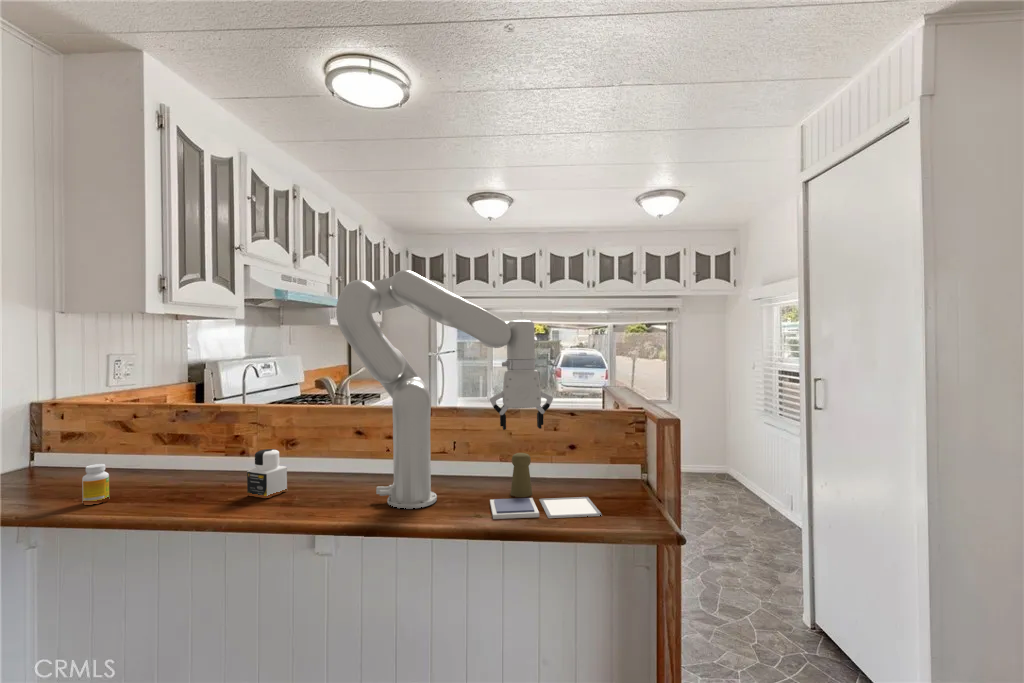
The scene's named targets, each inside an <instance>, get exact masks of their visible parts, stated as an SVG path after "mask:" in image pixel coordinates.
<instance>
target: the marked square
mask: <svg viewBox="0 0 1024 683" xmlns="http://www.w3.org/2000/svg"><path fill="white" fill-rule="evenodd" d="M538 500H539V502H540V504H541V506H542V508H543V510H544V512H545V514H546V517H547V519H555V518H556V519H559V518H560V519H563V518H564V519H565V518H581V517H582V518H584V517H586V518H587V516H588V517H602V516H603V514H602V512H601V511H600V510H599V509H598V508H597V506H596V505H595V503H593V501H592V500H591V499H590V498H589V496H581V497H580V496H578V497H577V496H576V497H573V496H572V497H555V498H554V497H552V498H539V499H538ZM600 515H601V516H600Z"/></svg>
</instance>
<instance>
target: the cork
mask: <svg viewBox="0 0 1024 683" xmlns="http://www.w3.org/2000/svg"><path fill="white" fill-rule="evenodd" d="M531 460H532V459H531V456H530V454H528V453H525V452H517V453H514V454H513V455H512V456H511V464H512V465H513V470H512V477H511V478H512V479H511V487H510V493H509V494H510V496H512V497H514V496H515V498H530V497H531V496H532V495H533V488H532V481H531V472H530V465H531Z"/></svg>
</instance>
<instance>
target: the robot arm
mask: <svg viewBox="0 0 1024 683" xmlns="http://www.w3.org/2000/svg"><path fill="white" fill-rule="evenodd" d="M404 306H408V307H409V308H411V309H413V310H415V311H417V312H418V313H420V314H423V315H424V316H426V317H427V318H430V319H432V320H434V321H435V322H437V323H440V325H444V326H445V327H446V326H447V327H451V328H454V329H457V330H459V331H461V332H463V333H465V334H467V335H468V336H471V337H473V338H475V339H476V340H478V341H479V342H480V344H482V345H483V346H485V347H487V348H493V349H499V348H503V347H505V346H506V360H505V361H501V366H502V367H503V368H506V370H505V371H504V374H503V384H502V391H501V392H499V393H498V394H497V393H496V395H494V396H491V397H490V398H489V402H490V404H491V405H492V408H493V409H494V411H496V412H497V413H498V414H499V426H500V427H502V430H503V431H505V430H507V415H506V412H507V411H508V410H509V409H531V408H532V409H533V408H534V409H535V408H536V410H537V413H536V422H537V423H536V427H537V428H538V429H542V428H543V427H542V426H543V425H544V414H545V412H546V411H547V410H548V409H549V408H550V406H551V404H552V402H553V401H554V397H553V396H552V395H549V394H548V393H546V392H544V391H542V390H541V382H540V374H539V370H537V369H536V360H535V359H536V357H535V356H536V352H535V351H536V350H535V349H536V348H535V345H536V344H535V324H534V322H533V321H531V320H527V319H517V320H514V319H513V320H509V321H505V320H504V319H502V318H500V317H498V316H497V315H495V314H494V313H491V312H489V311H488V310H486V309H484V308H482V307H480V306H478V305H476V304H474V303H472V302H470V301H468V300H466V299H464V298H463V297H461V296H459V295H457V294H455V293H453V292H451V291H449V290H448V289H445V288H444V287H442V286H440V285H438V284H436V283H435V282H434V281H433V282H432V281H431V280H429V279H427V278H426V277H424V276H421V275H420V274H418V273H417V272H414V271H412V270H410V269H402V270H399V271H397V272H395V274H393V275H392V276H390V277H387V278H383V279H378V280H377V279H376V280H374V281H373V280H372V281H368V280H366V279H355V280H352V281H350V282H348V283H347V284H346V285H345V286H344V287H343V288H342V290H341V292H340V294H339V296H338V299H337V302H336V308H335V315H336V322H337V325H338V328H339V330H340V332H341V334H342V336H343V337H344V338H345V340H346V341H347V343H348V344H349V345H350V347H351V349H352V350H353V352H354V353H355V354H356V356H357V357H358V358H359V359H360V361H361V362H362V364H363V365H364V366H365V368H366V369H367V370H368V372H369V374H370V376H371V377H372V378H373V379H374V380H375V381H378V383H380V384H381V386H382V387H383V388H384V390H385V391H386V392H387V393H388V395H389V396H390V397H391V399H392V400H391V401H392V403H391V404H392V445H393V456H392V458H393V459H392V460H393V483H392V484H389V485H388V486H385V485H384V486H383V485H381V486H379V485H378V486H376V487H375V488H376V490H375V491H376V492H375V493H376V495H379V496H380V497H384V496H388V497H387V505H388V506H390V505H391V506H390V507H392V506H393V507H392V508H394V507H397V508H396V509H400V508H404V509H403V510H413V508H415V509H422V508H425V507H426V508H427V507H429V506H432V505H433V504H435V503H436V502H437V500H438V495H437V493H435V492H434V491H432V486H431V484H432V480H431V478H432V476H431V473H432V471H431V470H432V468H431V467H432V465H431V463H432V460H431V458H432V456H431V454H432V453H431V450H432V449H431V414H432V413H431V412H432V411H431V410H432V399H431V397H432V396H431V392H430V391H429V390H430V389H429V388H428V387H427V384H426V383H425V381H424V380H423V379H422V378H421V376H419V374H418V372H417V371H416V370H415V369H414V367H413V366H412V365H411V364H410V362H409V360H407V358H406V357H405V355H404V354H403V353H402V352H401V350H400V349H398V348H397V347H395V346H394V345H393V344H392V342H391V341H390V340H389V338H387V336H386V335H385V334H384V332H383V330H382V329H381V328H380V326H379V325H378V324H377V321H375V319H374V317H373V314H375V313H381V312H382V311H383V312H384V311H388V310H392V309H396V308H400V307H404ZM542 398H543V399H546V401H545V403H544V404H543V405H542ZM500 399H502V406H501V407H500V406H499V405H498V404H497V401H498V400H500ZM421 507H422V508H421ZM405 508H406V509H405Z"/></svg>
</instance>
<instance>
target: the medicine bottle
mask: <svg viewBox="0 0 1024 683" xmlns="http://www.w3.org/2000/svg"><path fill="white" fill-rule="evenodd" d="M287 468H288V467H287V466H284V465H280V451H279V450H278V449H274V448H268V449H267V448H265V449H261V450H258V451H257V452H255V453H254V468H251V469H248V470H247V471H246V474H247V475H246V477H247V478H246V479H247V480H246V484H247V486H246V487H247V488H246V490H247V493H252V494H258V495H264V496H268V495H270V494H273V493H276V492H280V491H282V490H285V489H287V490H288V474H287V473H288V469H287Z"/></svg>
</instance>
